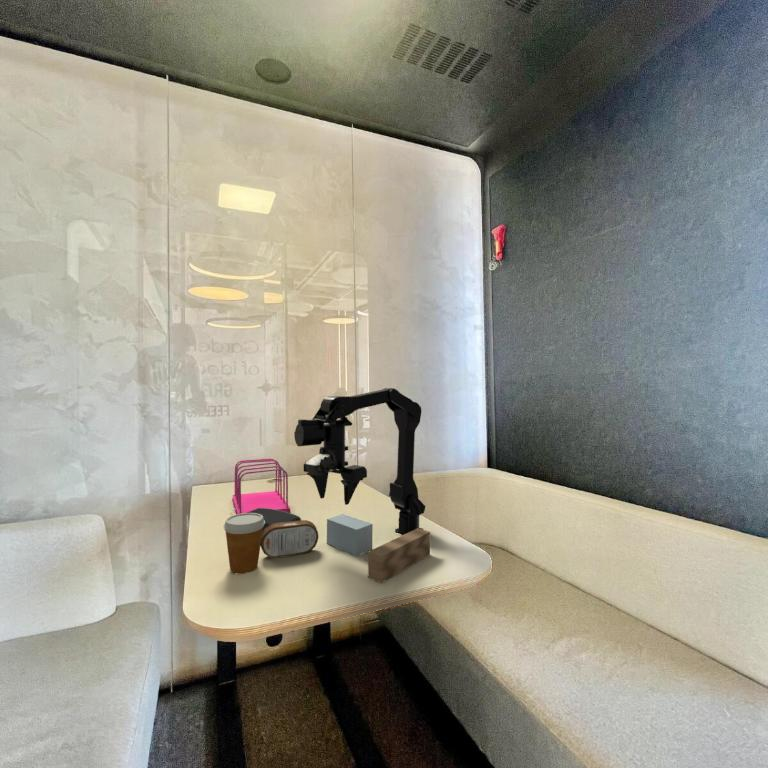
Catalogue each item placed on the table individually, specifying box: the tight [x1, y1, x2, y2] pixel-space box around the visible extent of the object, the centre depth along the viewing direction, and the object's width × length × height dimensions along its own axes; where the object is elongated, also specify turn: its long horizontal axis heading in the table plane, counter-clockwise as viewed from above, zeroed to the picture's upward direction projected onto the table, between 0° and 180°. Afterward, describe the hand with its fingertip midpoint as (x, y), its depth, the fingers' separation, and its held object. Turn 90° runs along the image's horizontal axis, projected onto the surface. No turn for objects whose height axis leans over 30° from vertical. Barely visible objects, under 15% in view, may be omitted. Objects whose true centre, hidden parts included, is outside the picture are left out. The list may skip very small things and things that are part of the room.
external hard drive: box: [247, 508, 302, 532], centre depth 124 cm, size 13×19×4 cm
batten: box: [367, 527, 431, 584], centre depth 98 cm, size 20×4×6 cm, turn 140°
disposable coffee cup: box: [222, 513, 265, 575], centre depth 96 cm, size 10×10×12 cm
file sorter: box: [232, 458, 291, 515], centre depth 146 cm, size 17×25×16 cm
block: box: [326, 513, 374, 557], centre depth 110 cm, size 6×12×7 cm, turn 48°
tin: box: [260, 519, 319, 559], centre depth 104 cm, size 15×3×8 cm, turn 113°
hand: (334, 501), depth 106 cm, fingers open, 9 cm apart
